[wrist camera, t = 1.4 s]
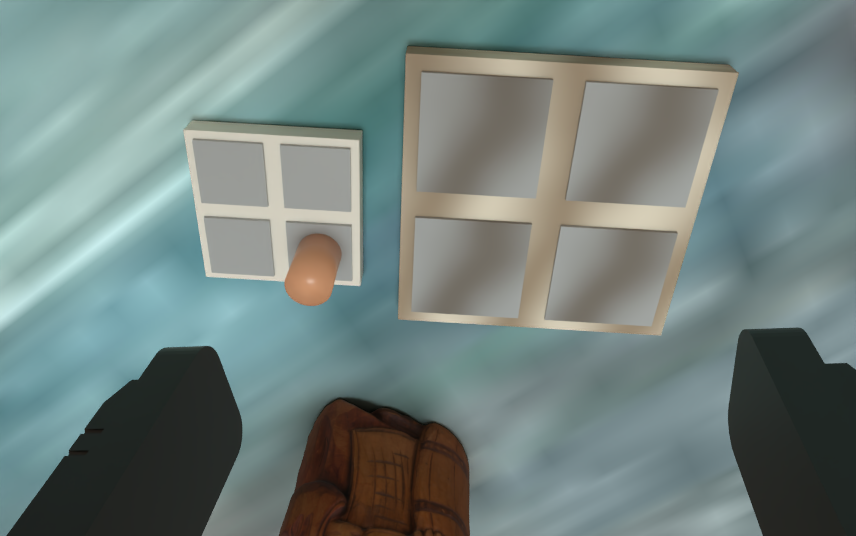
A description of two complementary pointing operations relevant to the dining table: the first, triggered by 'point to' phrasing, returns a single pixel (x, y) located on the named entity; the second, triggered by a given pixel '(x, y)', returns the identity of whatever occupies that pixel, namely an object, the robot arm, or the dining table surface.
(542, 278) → the board
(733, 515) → the dining table surface
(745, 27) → the dining table surface
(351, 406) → the wooden figurine
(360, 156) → the key plate
